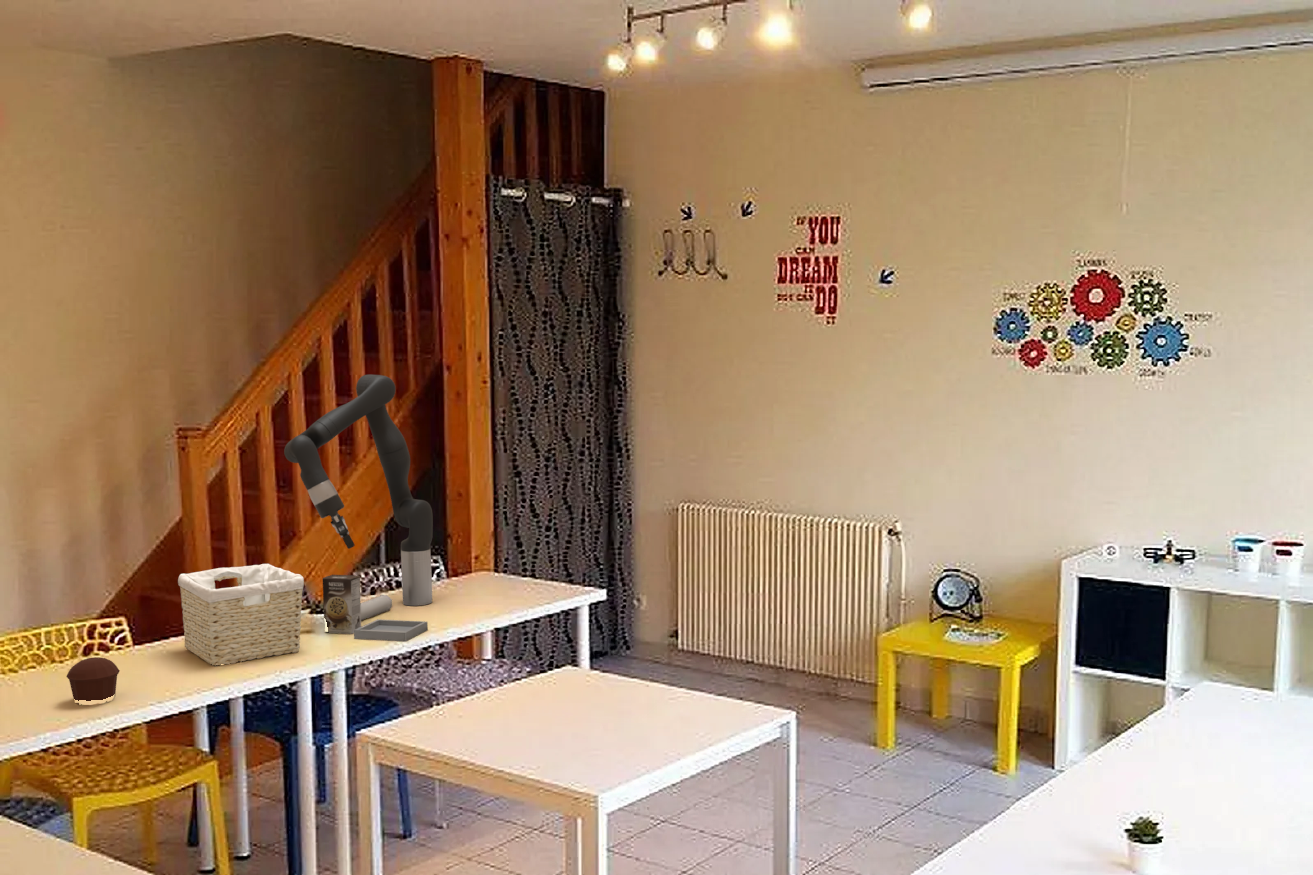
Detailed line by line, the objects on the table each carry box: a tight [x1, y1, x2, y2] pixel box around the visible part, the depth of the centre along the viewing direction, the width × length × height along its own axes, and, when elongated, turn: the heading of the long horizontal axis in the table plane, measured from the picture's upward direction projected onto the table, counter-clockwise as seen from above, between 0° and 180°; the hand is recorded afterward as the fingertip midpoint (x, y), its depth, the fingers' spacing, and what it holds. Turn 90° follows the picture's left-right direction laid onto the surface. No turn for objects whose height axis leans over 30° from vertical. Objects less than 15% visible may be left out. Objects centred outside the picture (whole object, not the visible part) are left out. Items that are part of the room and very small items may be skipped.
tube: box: [360, 594, 393, 622], centre depth 397 cm, size 5×5×25 cm
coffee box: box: [321, 574, 362, 635], centre depth 380 cm, size 9×6×16 cm
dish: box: [353, 618, 429, 642], centre depth 375 cm, size 14×16×2 cm
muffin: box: [65, 656, 121, 701], centre depth 313 cm, size 12×11×10 cm
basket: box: [177, 563, 305, 666], centre depth 358 cm, size 27×27×22 cm
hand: (351, 547), depth 386 cm, fingers open, 8 cm apart
